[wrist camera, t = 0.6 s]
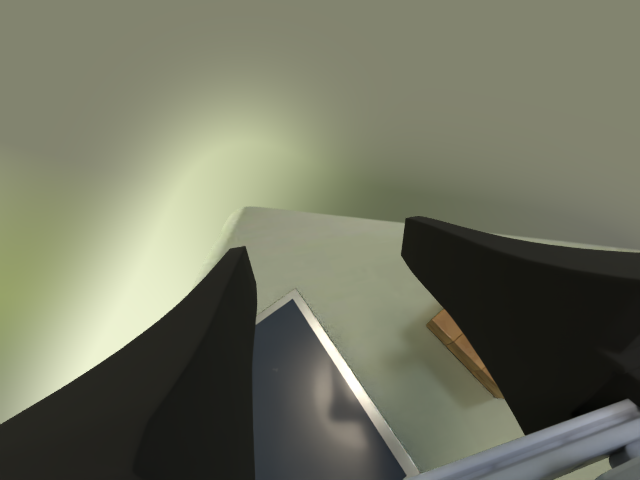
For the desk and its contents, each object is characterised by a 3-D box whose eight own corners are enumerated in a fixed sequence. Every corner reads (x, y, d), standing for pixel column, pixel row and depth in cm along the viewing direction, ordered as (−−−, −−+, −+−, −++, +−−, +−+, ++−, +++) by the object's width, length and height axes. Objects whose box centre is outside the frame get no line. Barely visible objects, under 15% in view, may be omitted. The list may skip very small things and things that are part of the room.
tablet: (423, 477, 18) (426, 481, 18) (275, 634, 15) (271, 646, 15) (297, 289, 29) (295, 287, 28) (194, 362, 26) (189, 361, 25)
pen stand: (548, 342, 22) (568, 337, 20) (495, 398, 20) (511, 399, 18) (474, 282, 26) (484, 273, 24) (425, 325, 24) (431, 319, 22)
